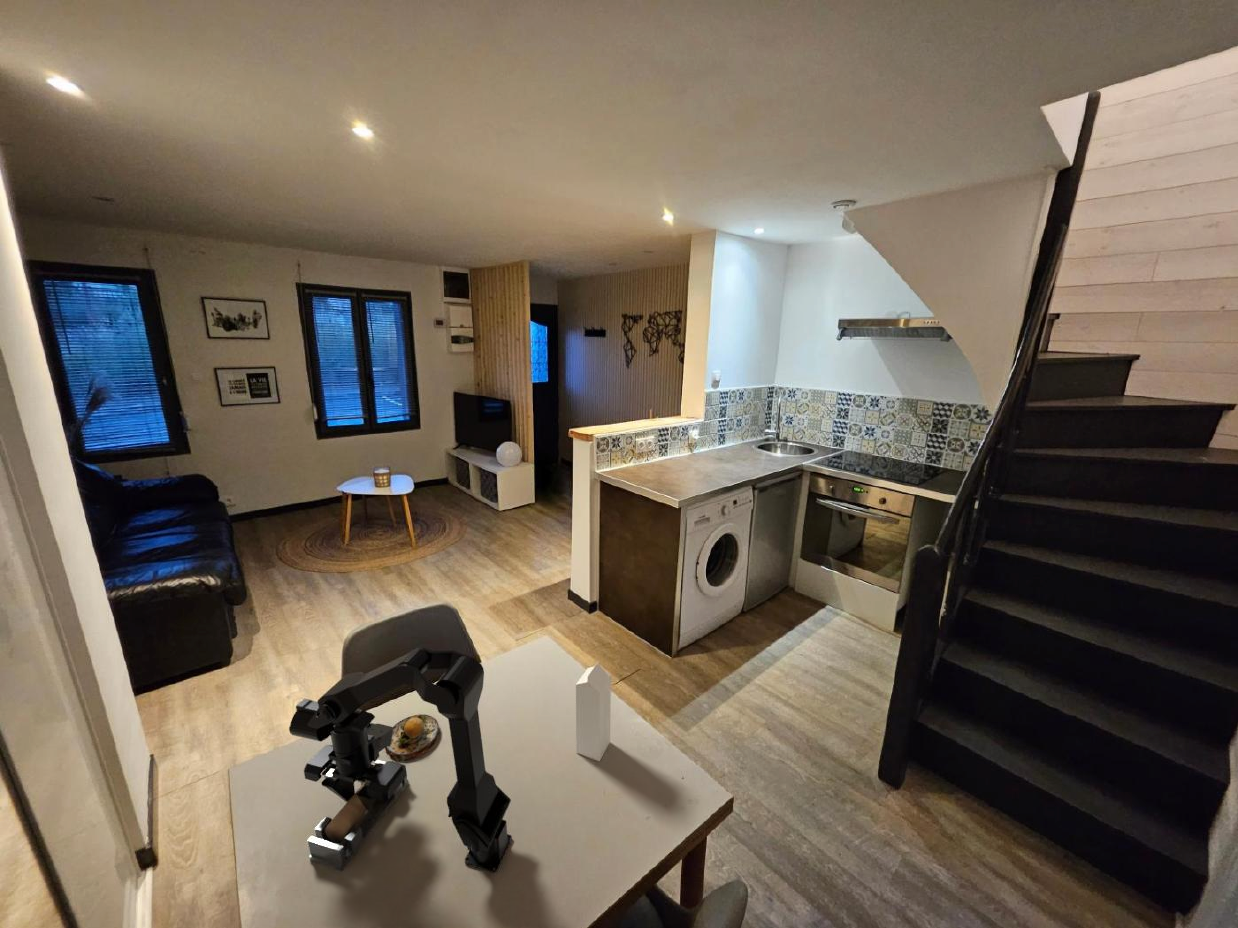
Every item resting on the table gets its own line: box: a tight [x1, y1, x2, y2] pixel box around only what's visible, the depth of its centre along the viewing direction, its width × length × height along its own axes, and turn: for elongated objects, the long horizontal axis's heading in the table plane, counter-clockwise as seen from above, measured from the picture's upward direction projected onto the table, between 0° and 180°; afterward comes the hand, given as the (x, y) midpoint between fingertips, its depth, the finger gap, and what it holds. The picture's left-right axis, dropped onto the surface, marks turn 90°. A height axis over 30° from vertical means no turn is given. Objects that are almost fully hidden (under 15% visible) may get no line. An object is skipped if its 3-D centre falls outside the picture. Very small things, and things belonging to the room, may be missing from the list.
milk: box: [575, 660, 612, 762], centre depth 108 cm, size 6×6×22 cm
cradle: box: [307, 759, 409, 872], centre depth 94 cm, size 8×18×4 cm, turn 166°
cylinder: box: [325, 782, 376, 843], centre depth 93 cm, size 13×4×4 cm, turn 166°
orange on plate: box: [384, 713, 441, 761], centre depth 112 cm, size 12×12×8 cm
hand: (361, 804), depth 93 cm, fingers closed on cylinder, 4 cm apart
